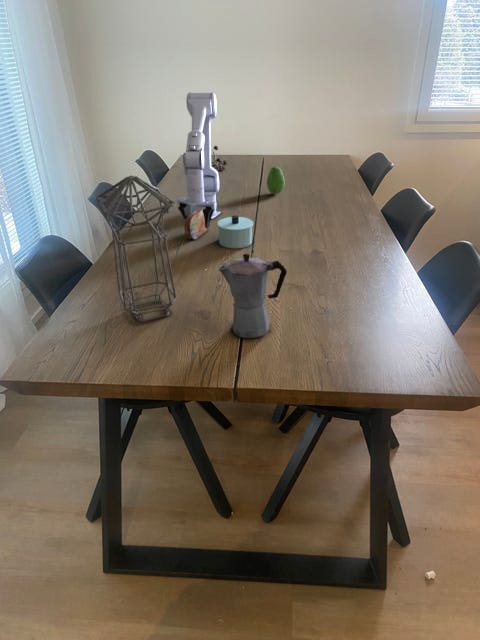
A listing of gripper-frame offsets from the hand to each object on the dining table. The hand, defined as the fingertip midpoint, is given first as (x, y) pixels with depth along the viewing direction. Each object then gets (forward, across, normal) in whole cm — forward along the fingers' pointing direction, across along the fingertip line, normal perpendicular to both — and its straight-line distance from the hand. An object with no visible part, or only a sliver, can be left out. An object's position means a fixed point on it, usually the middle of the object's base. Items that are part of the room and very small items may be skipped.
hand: (197, 225), depth 162 cm
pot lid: (-3, +15, -1) cm, 15 cm away
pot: (+3, +15, -1) cm, 15 cm away
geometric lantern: (+4, +12, -52) cm, 53 cm away
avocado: (-3, +11, +56) cm, 57 cm away
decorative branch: (+4, -34, +92) cm, 98 cm away
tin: (+4, 0, 0) cm, 4 cm away
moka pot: (+4, +40, -50) cm, 64 cm away
